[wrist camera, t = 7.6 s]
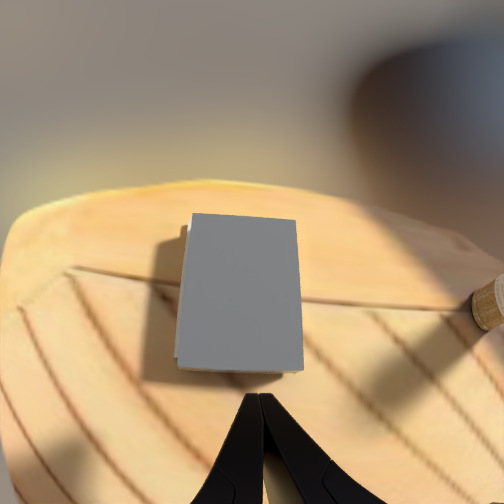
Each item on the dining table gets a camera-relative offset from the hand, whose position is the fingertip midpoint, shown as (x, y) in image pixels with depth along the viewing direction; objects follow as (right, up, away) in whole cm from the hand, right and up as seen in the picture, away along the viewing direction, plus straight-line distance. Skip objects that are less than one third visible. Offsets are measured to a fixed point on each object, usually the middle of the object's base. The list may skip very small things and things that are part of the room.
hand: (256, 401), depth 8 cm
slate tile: (-1, -2, +7) cm, 8 cm away
